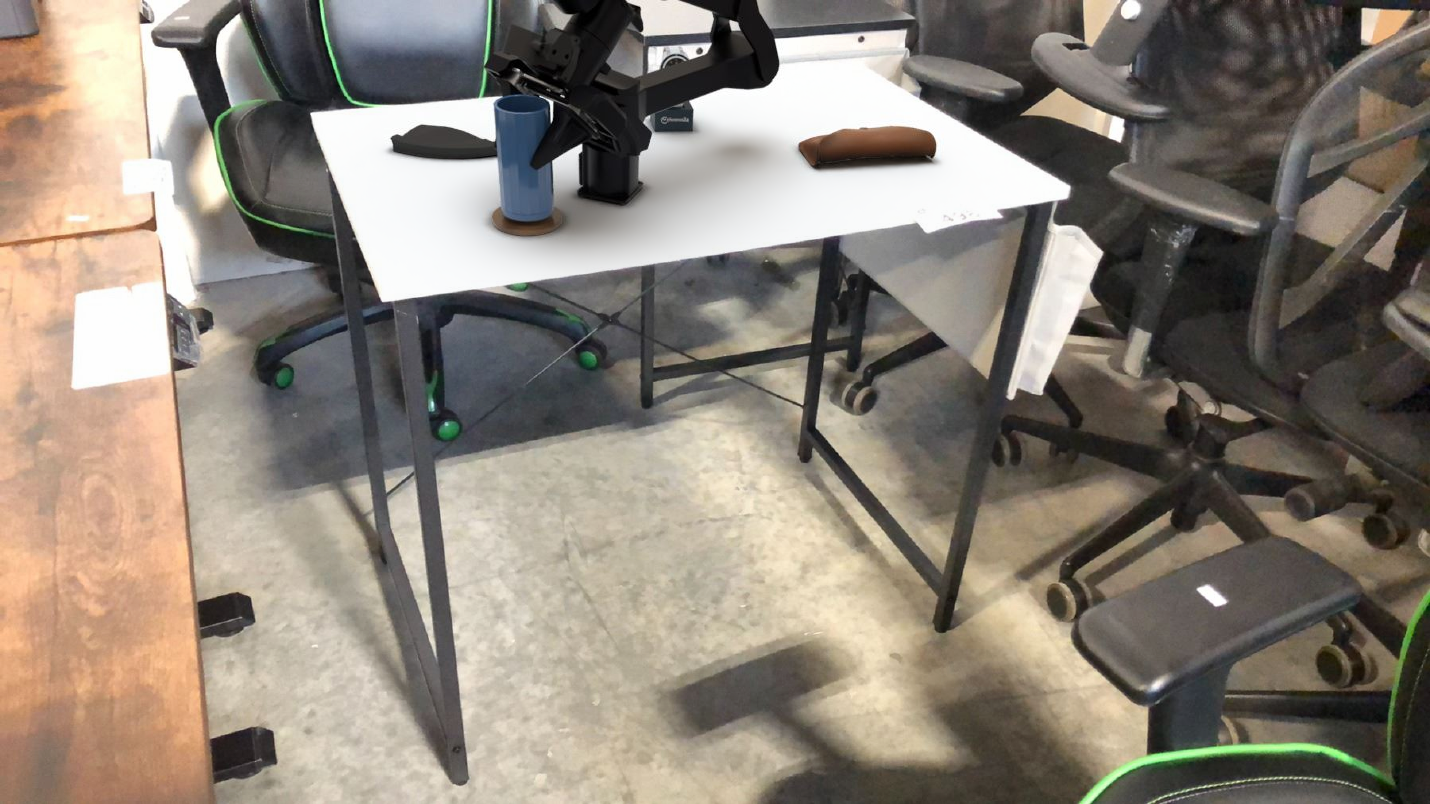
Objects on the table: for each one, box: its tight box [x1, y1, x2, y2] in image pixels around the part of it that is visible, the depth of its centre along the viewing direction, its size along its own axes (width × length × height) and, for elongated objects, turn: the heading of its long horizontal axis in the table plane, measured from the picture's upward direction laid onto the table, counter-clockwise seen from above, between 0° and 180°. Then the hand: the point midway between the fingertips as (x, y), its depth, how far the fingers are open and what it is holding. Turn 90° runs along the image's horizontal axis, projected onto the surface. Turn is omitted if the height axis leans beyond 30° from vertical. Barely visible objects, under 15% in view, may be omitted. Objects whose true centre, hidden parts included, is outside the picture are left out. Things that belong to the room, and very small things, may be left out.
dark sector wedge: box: [389, 123, 497, 159], centre depth 131 cm, size 8×14×2 cm, turn 74°
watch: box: [649, 46, 695, 132], centre depth 140 cm, size 6×8×11 cm
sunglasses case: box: [797, 125, 937, 167], centre depth 138 cm, size 18×7×7 cm
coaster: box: [491, 206, 563, 237], centre depth 115 cm, size 8×8×1 cm
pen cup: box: [492, 95, 555, 221], centre depth 111 cm, size 6×6×12 cm
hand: (514, 159), depth 110 cm, fingers closed on pen cup, 6 cm apart
